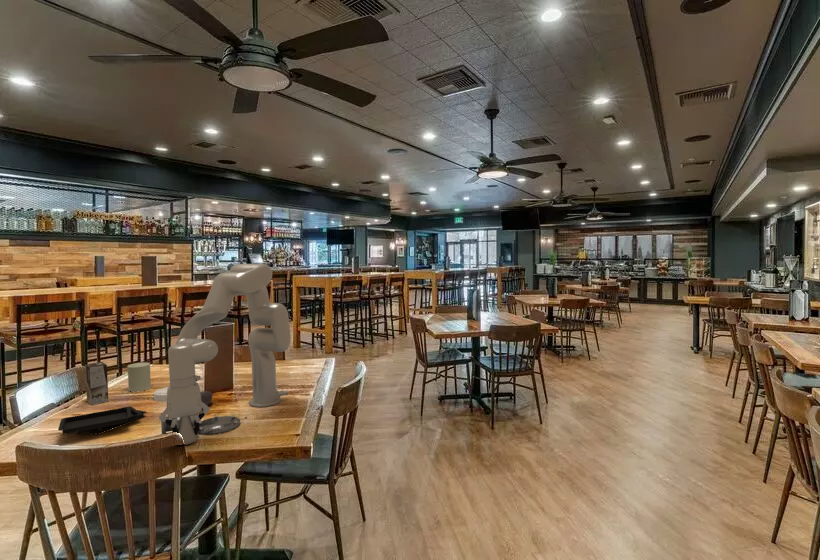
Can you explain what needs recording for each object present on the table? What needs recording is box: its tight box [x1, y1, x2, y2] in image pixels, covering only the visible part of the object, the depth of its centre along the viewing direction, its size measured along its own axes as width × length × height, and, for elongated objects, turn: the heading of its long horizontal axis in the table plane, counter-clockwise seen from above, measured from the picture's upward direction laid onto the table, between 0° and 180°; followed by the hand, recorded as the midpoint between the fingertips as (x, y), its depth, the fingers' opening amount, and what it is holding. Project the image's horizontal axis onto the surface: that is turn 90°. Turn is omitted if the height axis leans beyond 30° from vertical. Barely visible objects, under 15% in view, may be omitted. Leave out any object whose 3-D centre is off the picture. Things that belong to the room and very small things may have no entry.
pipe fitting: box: [160, 412, 241, 436], centre depth 154 cm, size 25×15×8 cm, turn 120°
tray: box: [57, 406, 147, 435], centre depth 157 cm, size 30×23×5 cm
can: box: [126, 362, 152, 393], centre depth 203 cm, size 9×9×12 cm
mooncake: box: [153, 386, 169, 402], centre depth 191 cm, size 12×12×4 cm
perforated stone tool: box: [200, 390, 213, 410], centre depth 175 cm, size 15×5×7 cm, turn 171°
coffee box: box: [84, 361, 109, 406], centre depth 186 cm, size 9×6×16 cm
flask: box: [177, 416, 200, 445], centre depth 143 cm, size 7×7×10 cm
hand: (186, 434), depth 143 cm, fingers closed on flask, 5 cm apart
